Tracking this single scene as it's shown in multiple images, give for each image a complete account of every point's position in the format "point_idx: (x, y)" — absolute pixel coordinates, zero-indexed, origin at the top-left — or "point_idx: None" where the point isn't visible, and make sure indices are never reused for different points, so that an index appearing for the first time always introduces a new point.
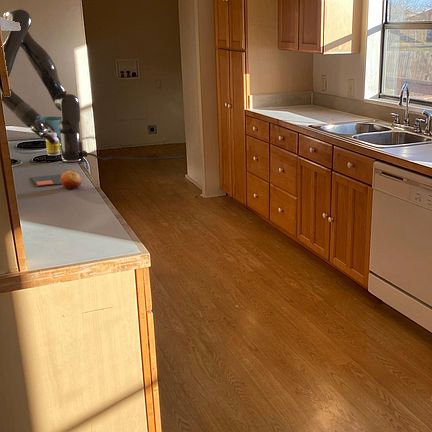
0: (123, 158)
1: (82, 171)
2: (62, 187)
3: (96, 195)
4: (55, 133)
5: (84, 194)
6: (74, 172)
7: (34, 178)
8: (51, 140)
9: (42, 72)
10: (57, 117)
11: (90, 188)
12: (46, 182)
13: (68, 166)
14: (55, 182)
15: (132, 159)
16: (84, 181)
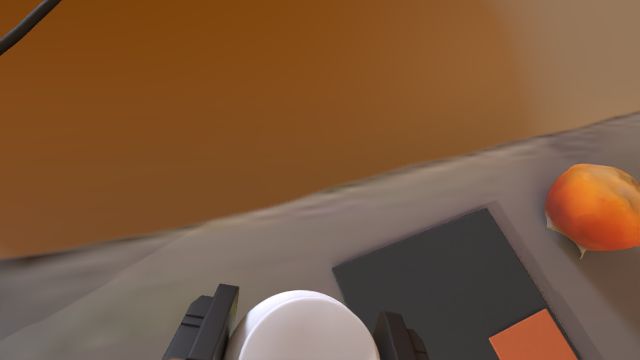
0: (9, 46)
1: (260, 215)
2: (581, 256)
3: (630, 128)
4: (327, 306)
5: (633, 164)
6: (616, 174)
7: None
8: (422, 350)
9: None
10: None
11: (555, 152)
12: (536, 353)
13: (102, 317)
14: (517, 306)
15: (43, 17)
16: (458, 183)
